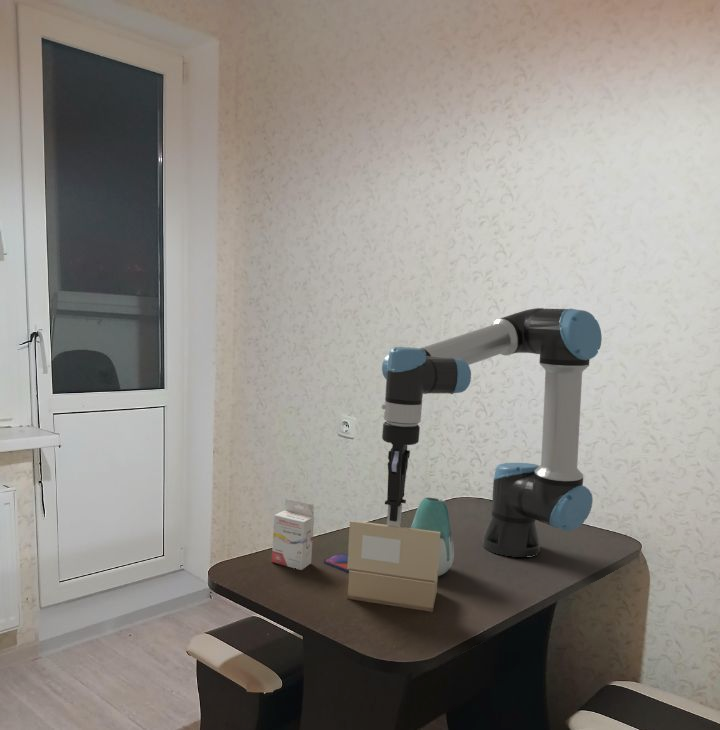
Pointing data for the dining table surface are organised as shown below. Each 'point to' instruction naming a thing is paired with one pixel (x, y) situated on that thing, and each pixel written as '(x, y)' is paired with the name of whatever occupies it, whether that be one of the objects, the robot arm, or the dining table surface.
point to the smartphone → (338, 562)
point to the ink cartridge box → (293, 535)
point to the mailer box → (392, 591)
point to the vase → (436, 528)
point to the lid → (393, 551)
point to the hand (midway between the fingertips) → (392, 534)
